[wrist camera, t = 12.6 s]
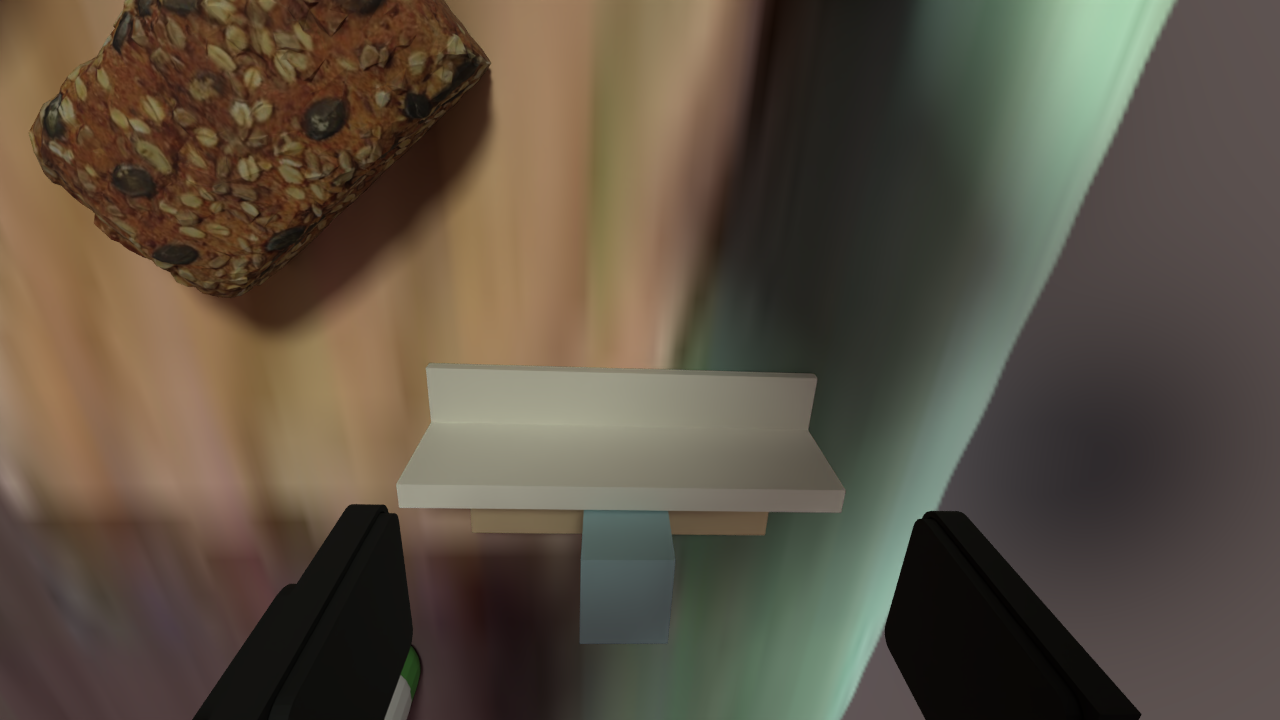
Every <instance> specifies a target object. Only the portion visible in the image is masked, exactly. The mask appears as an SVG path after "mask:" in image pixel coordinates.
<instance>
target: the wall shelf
mask: <svg viewBox="0 0 1280 720" xmlns="http://www.w3.org/2000/svg"><path fill="white" fill-rule="evenodd" d="M426 373H427V384H428V394H429V405H430V415H431V423H430V425H429V427H428V429H427V431H426V432H425V434H424V436H423V438H422V439H421V441H420V443H419V445H418V447H417V448H416V450H415V452H414V454H413V455H412V457H411V459H410V461H409V463H408V464H407V466H406V468H405V470H404V471H403V473H402V475H401V477H400V479H399V480H398V482H397V484H396V486H397V494H398V502H399V508H470V511H471V525H472V533H561V534H582V532H583V515H584V510H649V511H668V514H669V520H670V527H671V533H672V534H679V535H765V531H766V525H767V519H768V513H769V512H828V513H841V510H842V506H843V501H844V497H845V492H846V490H845V488H844V487H843V485H842V483H841V482H840V480H839V479H838V477H837V475H836V474H835V472H834V471H833V469H832V467H831V466H830V464H829V463H828V461H827V459H826V458H825V456H824V455H823V453H822V451H821V450H820V448H819V447H818V445H817V443H816V442H815V440H814V439H813V437H812V435H811V434H810V432H809V431H808V428H809V422H810V417H811V411H812V406H813V401H814V395H815V390H816V384H817V379H818V378H817V377H816V376H815V374H813V373H776V372H739V371H703V370H666V369H629V368H592V367H556V366H519V365H482V364H445V363H429V364H428V366H427V367H426Z"/></svg>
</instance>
